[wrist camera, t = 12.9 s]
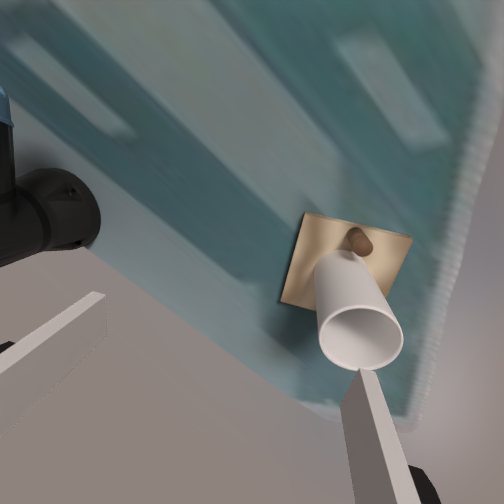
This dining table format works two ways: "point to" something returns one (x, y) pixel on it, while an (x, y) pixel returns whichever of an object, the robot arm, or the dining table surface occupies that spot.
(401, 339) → the cup
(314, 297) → the peg board
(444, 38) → the dining table surface
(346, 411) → the robot arm
